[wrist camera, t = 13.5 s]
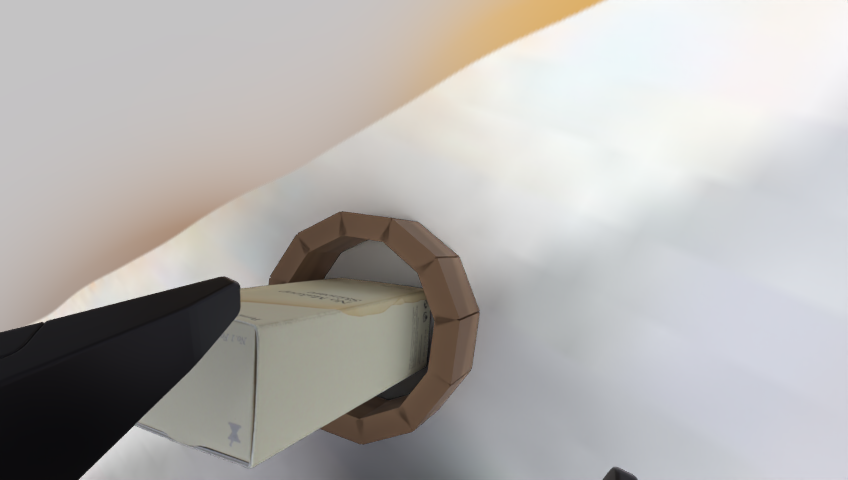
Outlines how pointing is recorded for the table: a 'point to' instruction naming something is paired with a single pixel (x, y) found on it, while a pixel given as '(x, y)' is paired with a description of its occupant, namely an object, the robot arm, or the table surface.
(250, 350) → the skincare box
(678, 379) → the table surface
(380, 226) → the walnut ring
